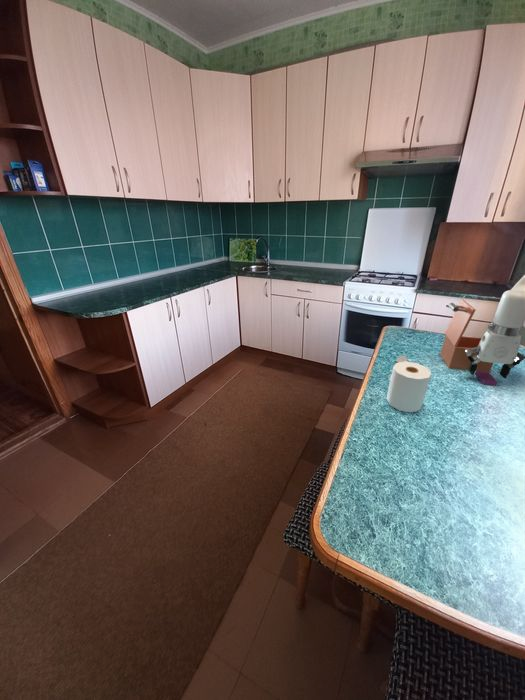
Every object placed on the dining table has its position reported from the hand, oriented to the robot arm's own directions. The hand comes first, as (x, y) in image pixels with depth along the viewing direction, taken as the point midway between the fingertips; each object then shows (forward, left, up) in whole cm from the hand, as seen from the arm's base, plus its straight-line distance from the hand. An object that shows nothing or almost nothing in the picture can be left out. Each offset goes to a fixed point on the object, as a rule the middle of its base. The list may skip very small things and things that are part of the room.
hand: (486, 374), depth 101 cm
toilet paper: (+30, +20, -3) cm, 36 cm away
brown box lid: (+8, -12, +14) cm, 20 cm away
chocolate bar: (0, 0, -2) cm, 2 cm away
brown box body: (+3, -12, -2) cm, 13 cm away
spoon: (+28, -1, -3) cm, 29 cm away
